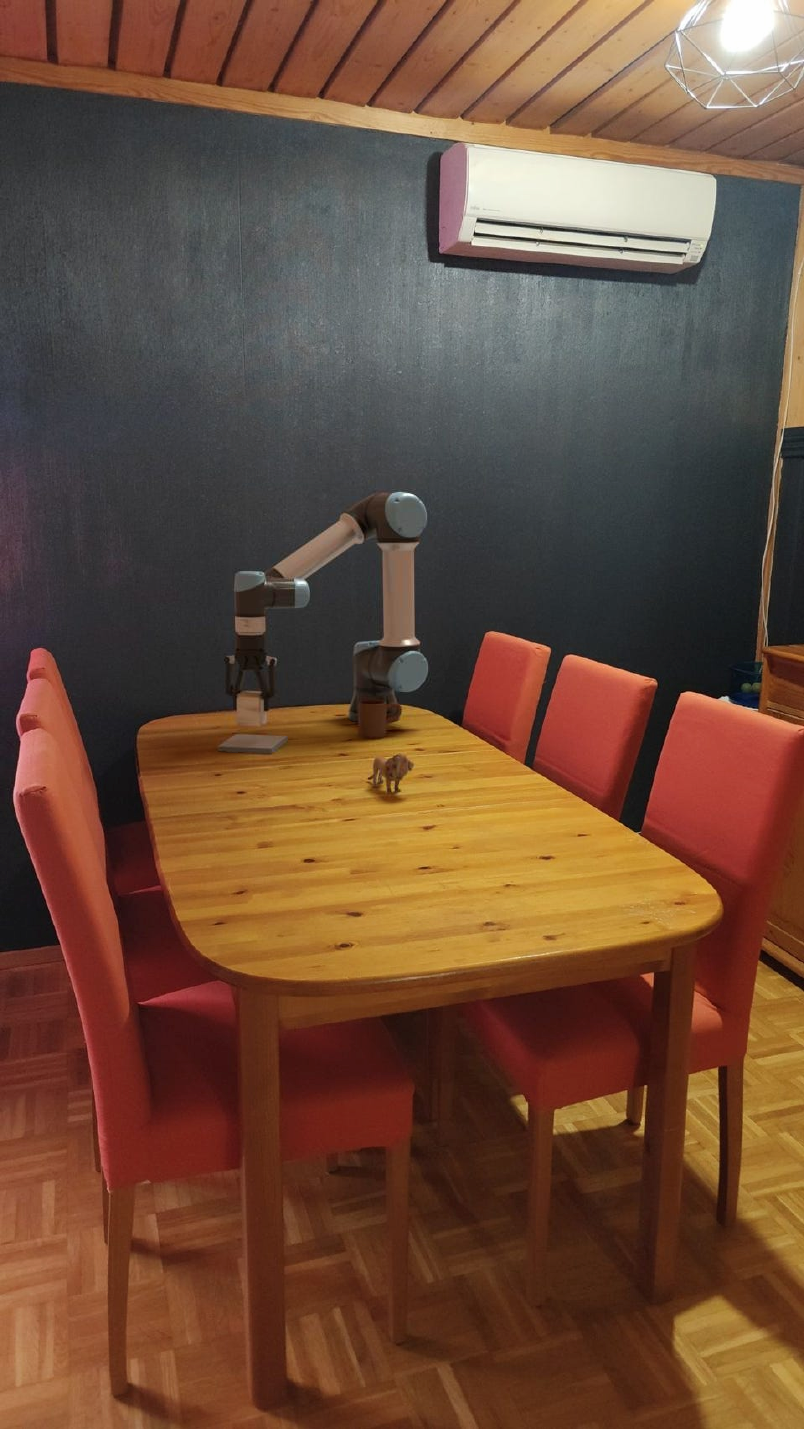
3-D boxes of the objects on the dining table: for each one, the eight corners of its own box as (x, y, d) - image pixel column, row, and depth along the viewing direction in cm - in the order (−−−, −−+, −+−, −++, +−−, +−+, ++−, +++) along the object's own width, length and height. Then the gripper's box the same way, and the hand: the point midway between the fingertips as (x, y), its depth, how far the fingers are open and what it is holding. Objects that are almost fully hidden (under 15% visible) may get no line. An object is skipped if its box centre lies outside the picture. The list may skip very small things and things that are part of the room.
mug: (399, 731, 266) (399, 698, 265) (404, 737, 259) (405, 703, 257) (356, 733, 264) (356, 700, 262) (360, 739, 257) (360, 705, 255)
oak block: (244, 721, 251) (244, 690, 249) (265, 722, 250) (265, 691, 248) (237, 725, 245) (237, 694, 244) (259, 726, 244) (258, 695, 243)
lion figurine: (417, 794, 207) (417, 753, 205) (397, 798, 204) (397, 757, 202) (376, 779, 218) (376, 741, 216) (357, 783, 215) (357, 744, 213)
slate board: (236, 739, 257) (236, 734, 256) (287, 741, 255) (287, 736, 254) (218, 751, 243) (218, 746, 243) (271, 754, 241) (271, 748, 241)
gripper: (210, 633, 241) (212, 724, 245) (281, 636, 238) (282, 727, 242) (220, 630, 248) (222, 718, 253) (290, 632, 245) (290, 721, 250)
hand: (251, 722), depth 247 cm, fingers closed on oak block, 5 cm apart
